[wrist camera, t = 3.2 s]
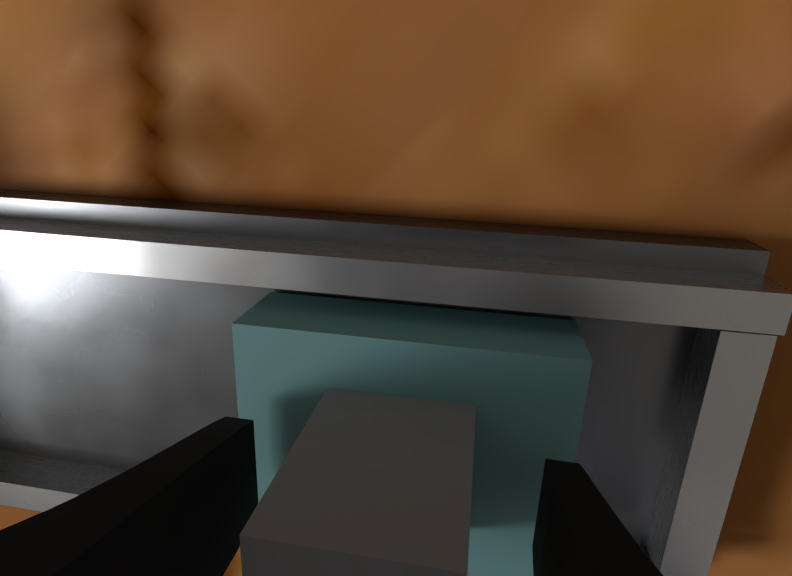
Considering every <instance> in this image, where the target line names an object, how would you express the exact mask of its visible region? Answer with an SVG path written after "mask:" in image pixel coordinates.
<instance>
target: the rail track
mask: <svg viewBox="0 0 792 576" xmlns="http://www.w3.org/2000/svg"><path fill="white" fill-rule="evenodd" d="M770 253H771V251H769V250H767V249H765V248H763V247H761V246H759V245H757V244H755V243H752V242H750V241H748V240H737V239H722V238H707V237H693V236H678V235H663V234H648V233H634V232H619V231H604V230H589V229H575V228H560V227H545V226H531V225H516V224H501V223H486V222H472V221H457V220H442V219H427V218H413V217H398V216H383V215H368V214H354V213H339V212H324V211H309V210H295V209H280V208H265V207H250V206H236V205H221V204H206V203H192V202H177V201H162V200H147V199H133V198H118V197H103V196H88V195H74V194H59V193H44V192H29V191H15V190H0V504H1V505H6V506H12V507H18V508H24V509H30V510H36V511H42V512H44V511H46V510H49V509H51V508H53V507H55V506H57V505H60V504H62V503H64V502H66V501H68V500H70V499H72V498H74V497H76V496H78V495H80V494H82V493H84V492H86V491H88V490H90V489H92V488H94V487H96V486H98V485H100V484H102V483H103V482H105V481H107V480H109V479H111V478H113V477H115V476H117V475H119V474H121V473H123V472H125V471H127V470H129V469H131V468H132V467H134V466H136V465H138V464H140V463H141V462H143V461H145V460H147V459H149V458H150V457H152V456H154V455H156V454H158V453H159V452H161V451H163V450H165V449H166V448H168V447H170V446H172V445H174V444H175V443H177V442H179V441H181V440H182V439H184V438H186V437H188V436H189V435H191V434H193V433H195V432H197V431H198V430H200V429H202V428H204V427H206V426H207V425H209V424H211V423H213V422H215V421H217V420H219V419H221V418H223V417H225V416H227V417H234V418H238V405H237V391H236V377H235V363H234V348H233V334H232V323H233V322H234V321H235V320H237V319H238V318H239V317H240V316H242V315H243V314H244V313H245V312H247V311H248V310H249V309H250V308H251V307H253V306H254V305H255V304H256V303H258V302H259V301H260V300H261V299H263V298H264V297H265V296H266V295H268V294H269V293H270V292H276V293H287V294H297V295H308V296H319V297H330V298H340V299H351V300H362V301H373V302H383V303H394V304H405V305H415V306H426V307H437V308H448V309H458V310H469V311H480V312H491V313H501V314H512V315H523V316H533V317H544V318H555V319H566V320H576V322H577V324H578V327H579V329H580V332H581V334H582V337H583V339H584V342H585V344H586V346H587V349H588V351H589V354H590V356H591V359H592V367H591V372H590V378H589V384H588V390H587V396H586V401H585V407H584V413H583V419H582V425H581V430H580V436H579V442H578V448H577V454H576V459H575V463H580V465H581V466H582V467H583V468H584V470H585V471H586V473H587V474H588V475H589V477H590V478H591V480H592V481H593V483H594V484H595V486H596V487H597V488H598V490H599V491H600V493H601V494H602V496H603V497H604V498H605V500H606V501H607V503H608V504H609V505H610V507H611V508H612V510H613V511H614V512H615V514H616V515H617V517H618V518H619V519H620V521H621V522H622V523H623V525H624V526H625V527H626V529H627V530H628V531H629V533H630V534H631V535H632V537H633V538H634V539H635V540H636V542H637V543H638V544H639V546H640V547H641V548H642V549H643V551H644V552H645V553H646V555H647V556H648V557H649V558H650V560H651V561H652V562H653V563H654V565H655V566H656V567H657V568H658V570H659V571H660V572H661V573H662V574H663V576H708V573H709V570H710V566H711V563H712V559H713V556H714V553H715V549H716V546H717V542H718V539H719V535H720V532H721V529H722V525H723V522H724V518H725V515H726V512H727V508H728V505H729V501H730V498H731V494H732V491H733V488H734V484H735V481H736V477H737V474H738V471H739V467H740V464H741V460H742V457H743V453H744V450H745V447H746V443H747V440H748V436H749V433H750V430H751V426H752V423H753V419H754V416H755V413H756V409H757V406H758V402H759V399H760V395H761V392H762V389H763V385H764V382H765V378H766V375H767V372H768V368H769V365H770V361H771V358H772V354H773V351H774V348H775V344H776V341H777V337H778V336H777V335H784V336H785V333H786V330H787V327H788V323H789V320H790V316H791V313H792V292H791V291H790V290H788V289H786V288H785V287H783V286H781V285H779V284H778V283H776V282H774V281H773V280H771V279H769V278H768V277H766V276H764V275H765V272H766V268H767V264H768V261H769V257H770ZM467 576H482V575H476V574H470V573H468V574H467Z"/></svg>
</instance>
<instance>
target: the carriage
mask: <svg viewBox="0 0 792 576" xmlns="http://www.w3.org/2000/svg"><path fill="white" fill-rule="evenodd" d="M232 334H233V348H234V363H235V377H236V391H237V405H238V418H242V419H249V420H254V437H255V453H256V470H257V487H258V505H257V506H256V508H255V510H254V512H253V513H252V515H251V517H250V518H249V520H248V522H247V523H246V525H245V527H244V528H243V530H242V532H241V533H240V535H239V536H240V550H241V563H242V576H467V574H468V573H470V574H476V575H482V576H533V551H532V544H533V538H534V531H535V524H536V518H537V511H538V504H539V498H540V491H541V484H542V478H543V471H544V464H545V459H551V460H559V461H566V462H574V463H575V459H576V454H577V448H578V442H579V436H580V430H581V425H582V419H583V413H584V407H585V401H586V396H587V390H588V384H589V378H590V372H591V367H592V359H591V356H590V354H589V351H588V349H587V346H586V344H585V342H584V339H583V337H582V334H581V332H580V329H579V327H578V324H577V322H576V320H566V319H555V318H544V317H533V316H523V315H512V314H501V313H491V312H480V311H469V310H458V309H448V308H437V307H426V306H415V305H405V304H394V303H383V302H373V301H362V300H351V299H340V298H330V297H319V296H308V295H297V294H287V293H276V292H270V293H269V294H268V295H266V296H265V297H264V298H263V299H261V300H260V301H259V302H258V303H256V304H255V305H254V306H253V307H251V308H250V309H249V310H248V311H247V312H245V313H244V314H243V315H242V316H240V317H239V318H238V319H237V320H235V321H234V322H233V323H232Z"/></svg>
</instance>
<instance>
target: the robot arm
mask: <svg viewBox="0 0 792 576" xmlns="http://www.w3.org/2000/svg"><path fill="white" fill-rule="evenodd" d="M257 505H258V487H257V470H256V453H255V437H254V420H249V419H242V418H234V417H227V416H225V417H223V418H221V419H219V420H217V421H215V422H213V423H211V424H209V425H207V426H206V427H204V428H202V429H200V430H198V431H197V432H195V433H193V434H191V435H189V436H188V437H186V438H184V439H182V440H181V441H179V442H177V443H175V444H174V445H172V446H170V447H168V448H166V449H165V450H163V451H161V452H159V453H158V454H156V455H154V456H152V457H150V458H149V459H147V460H145V461H143V462H141V463H140V464H138V465H136V466H134V467H132V468H131V469H129V470H127V471H125V472H123V473H121V474H119V475H117V476H115V477H113V478H111V479H109V480H107V481H105V482H103V483H102V484H100V485H98V486H96V487H94V488H92V489H90V490H88V491H86V492H84V493H82V494H80V495H78V496H76V497H74V498H72V499H70V500H68V501H66V502H64V503H62V504H60V505H57V506H55V507H53V508H51V509H49V510H46V511H44V512H42V513H40V514H37V515H35V516H33V517H30V518H28V519H26V520H23V521H21V522H19V523H16V524H14V525H12V526H9V527H7V528H5V529H2V530H0V576H223V574H224V573H225V571H226V569H227V567H228V566H229V564H230V562H231V561H232V559H233V557H234V555H235V554H236V552H237V550H238V548H239V546H240V536H239V535H240V533H241V532H242V530H243V528H244V527H245V525H246V523H247V522H248V520H249V518H250V517H251V515H252V513H253V512H254V510H255V508H256V506H257ZM532 551H533V576H663V574H662V573H661V572H660V571H659V570H658V568H657V567H656V566H655V565H654V563H653V562H652V561H651V560H650V558H649V557H648V556H647V555H646V553H645V552H644V551H643V549H642V548H641V547H640V546H639V544H638V543H637V542H636V540H635V539H634V538H633V537H632V535H631V534H630V533H629V531H628V530H627V529H626V527H625V526H624V525H623V523H622V522H621V521H620V519H619V518H618V517H617V515H616V514H615V512H614V511H613V510H612V508H611V507H610V505H609V504H608V503H607V501H606V500H605V498H604V497H603V496H602V494H601V493H600V491H599V490H598V488H597V487H596V486H595V484H594V483H593V481H592V480H591V478H590V477H589V475H588V474H587V473H586V471H585V470H584V468H583V467H582V466H581V465H580V463H574V462H566V461H559V460H551V459H545V464H544V471H543V478H542V484H541V491H540V498H539V504H538V511H537V518H536V524H535V531H534V538H533V544H532Z"/></svg>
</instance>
